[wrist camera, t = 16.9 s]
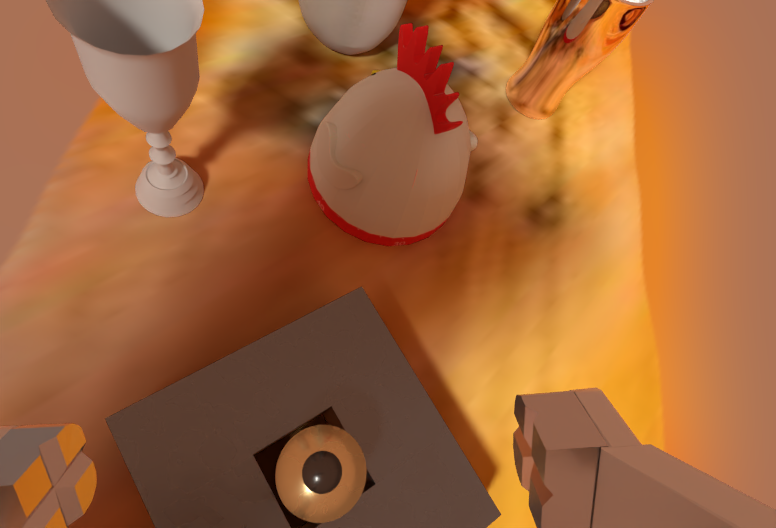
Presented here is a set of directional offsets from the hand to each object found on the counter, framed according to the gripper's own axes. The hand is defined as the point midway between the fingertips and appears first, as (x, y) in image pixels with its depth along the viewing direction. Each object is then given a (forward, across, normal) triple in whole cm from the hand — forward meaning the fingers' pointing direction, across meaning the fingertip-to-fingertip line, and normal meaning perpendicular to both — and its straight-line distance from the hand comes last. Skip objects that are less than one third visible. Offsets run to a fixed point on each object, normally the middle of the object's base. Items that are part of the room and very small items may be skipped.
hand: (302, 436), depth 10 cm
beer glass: (+50, -19, -3) cm, 54 cm away
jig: (+20, +4, +19) cm, 28 cm away
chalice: (+33, +15, +1) cm, 36 cm away
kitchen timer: (+38, -2, +3) cm, 39 cm away
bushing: (+20, +4, +19) cm, 28 cm away
